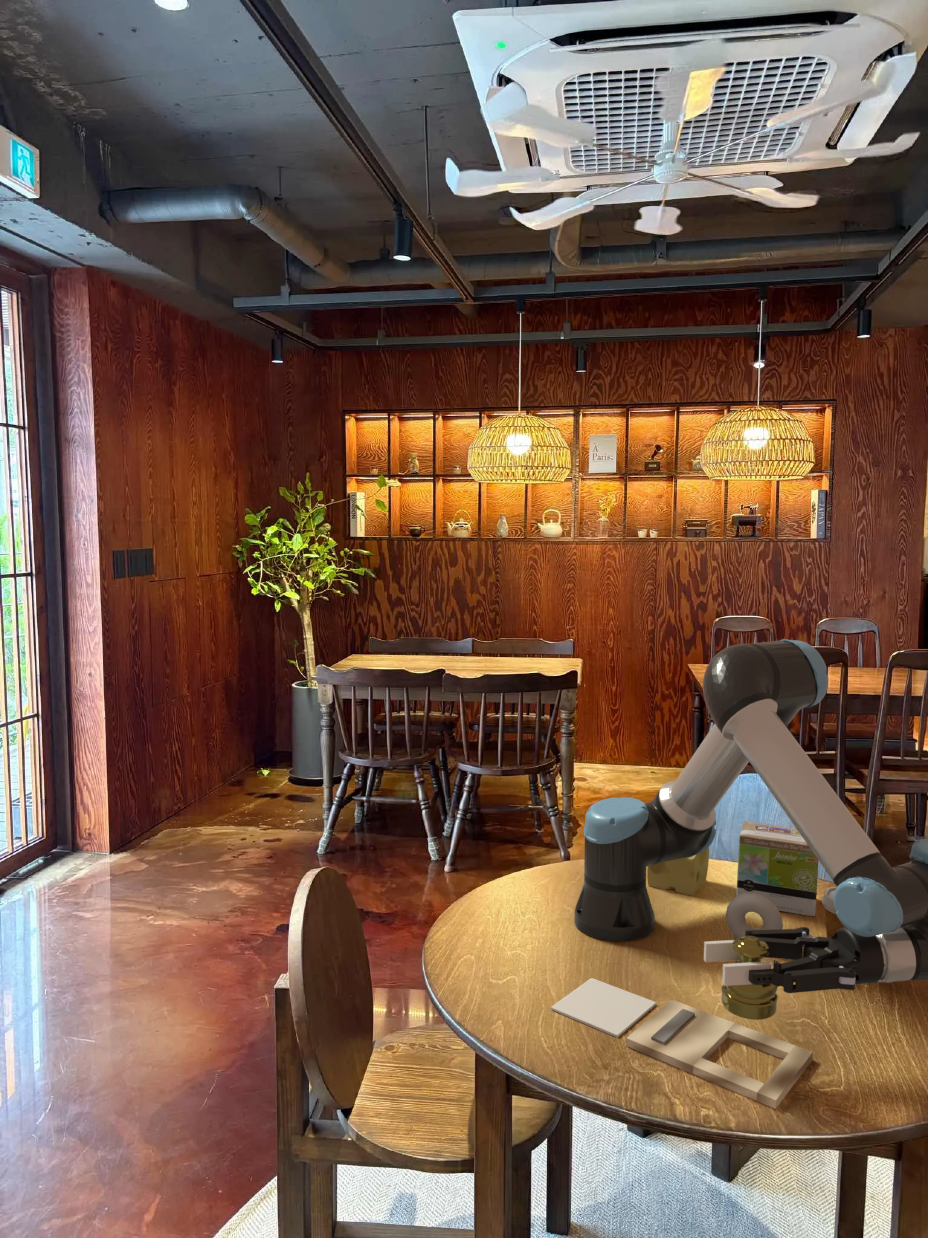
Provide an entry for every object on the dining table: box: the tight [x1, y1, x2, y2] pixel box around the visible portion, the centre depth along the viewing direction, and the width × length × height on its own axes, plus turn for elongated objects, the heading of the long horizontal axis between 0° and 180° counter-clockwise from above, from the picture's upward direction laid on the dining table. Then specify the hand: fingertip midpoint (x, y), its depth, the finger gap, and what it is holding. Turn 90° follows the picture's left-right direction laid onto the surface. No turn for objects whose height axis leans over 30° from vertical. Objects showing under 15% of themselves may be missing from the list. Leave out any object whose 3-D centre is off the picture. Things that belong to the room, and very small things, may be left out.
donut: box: [725, 893, 784, 939], centre depth 159 cm, size 10×4×10 cm, turn 59°
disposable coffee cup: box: [821, 886, 845, 938], centre depth 153 cm, size 10×10×12 cm
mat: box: [550, 977, 657, 1038], centre depth 139 cm, size 12×12×1 cm
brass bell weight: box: [721, 936, 779, 1021], centre depth 122 cm, size 7×7×10 cm
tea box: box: [736, 820, 820, 917], centre depth 178 cm, size 15×10×15 cm, turn 68°
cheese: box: [646, 846, 710, 897], centre depth 188 cm, size 10×11×10 cm
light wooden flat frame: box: [625, 998, 814, 1110], centre depth 127 cm, size 22×14×2 cm, turn 50°
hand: (714, 963), depth 122 cm, fingers closed on brass bell weight, 6 cm apart
